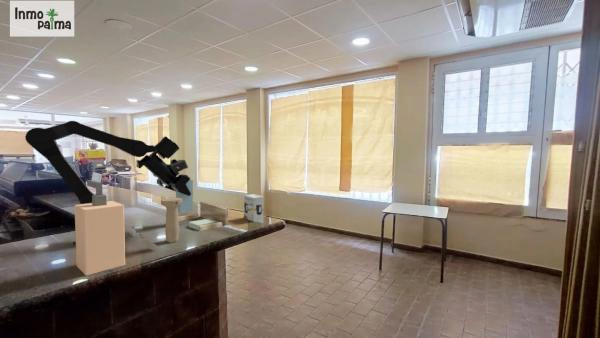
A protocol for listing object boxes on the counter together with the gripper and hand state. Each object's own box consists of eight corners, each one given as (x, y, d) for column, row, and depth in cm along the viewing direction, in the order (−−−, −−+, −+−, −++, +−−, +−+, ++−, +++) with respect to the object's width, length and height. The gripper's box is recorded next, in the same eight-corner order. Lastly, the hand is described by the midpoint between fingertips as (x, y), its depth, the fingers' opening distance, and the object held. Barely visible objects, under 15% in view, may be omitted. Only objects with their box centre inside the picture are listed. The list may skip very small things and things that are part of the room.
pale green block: (198, 230, 102) (198, 225, 102) (189, 227, 106) (189, 222, 105) (216, 226, 108) (216, 221, 108) (207, 223, 112) (207, 218, 112)
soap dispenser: (125, 265, 74) (123, 182, 72) (85, 275, 67) (83, 185, 66) (109, 253, 82) (107, 179, 80) (72, 261, 75) (69, 181, 74)
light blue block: (180, 212, 108) (180, 180, 107) (176, 211, 110) (175, 179, 110) (192, 211, 111) (192, 180, 110) (188, 209, 114) (188, 179, 113)
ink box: (243, 221, 122) (243, 194, 121) (252, 219, 125) (252, 193, 124) (253, 225, 115) (254, 197, 115) (263, 223, 119) (263, 196, 118)
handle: (158, 246, 88) (158, 200, 87) (177, 241, 93) (176, 197, 92) (167, 249, 85) (166, 201, 84) (185, 244, 91) (185, 199, 90)
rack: (200, 234, 101) (200, 213, 101) (176, 223, 115) (176, 204, 115) (228, 228, 110) (228, 208, 109) (202, 219, 124) (202, 201, 123)
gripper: (184, 153, 100) (212, 181, 109) (164, 152, 113) (190, 177, 122) (162, 175, 95) (193, 203, 103) (143, 172, 108) (172, 197, 116)
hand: (187, 194), depth 111 cm, fingers closed on light blue block, 4 cm apart
